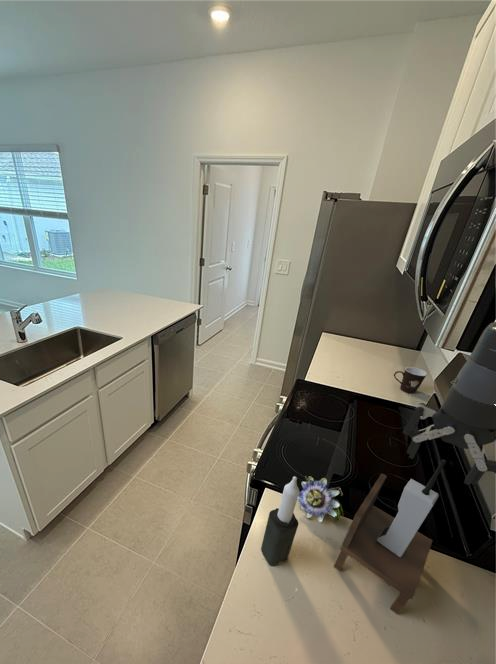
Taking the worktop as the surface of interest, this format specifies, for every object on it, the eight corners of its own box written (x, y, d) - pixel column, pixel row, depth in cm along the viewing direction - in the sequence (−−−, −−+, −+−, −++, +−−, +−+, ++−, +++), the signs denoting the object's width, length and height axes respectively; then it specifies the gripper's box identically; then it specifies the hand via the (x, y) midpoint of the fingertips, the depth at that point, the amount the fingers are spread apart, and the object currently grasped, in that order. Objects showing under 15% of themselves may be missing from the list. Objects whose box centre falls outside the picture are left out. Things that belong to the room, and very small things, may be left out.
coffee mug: (420, 390, 145) (428, 371, 140) (415, 397, 139) (424, 377, 134) (393, 381, 151) (400, 363, 146) (388, 387, 145) (395, 368, 140)
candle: (270, 567, 69) (291, 490, 56) (259, 547, 73) (276, 470, 60) (289, 560, 70) (314, 483, 58) (277, 540, 74) (298, 464, 62)
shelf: (358, 522, 80) (381, 473, 71) (418, 561, 72) (453, 510, 63) (332, 566, 70) (355, 514, 61) (398, 616, 61) (436, 565, 53)
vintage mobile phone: (382, 531, 69) (428, 446, 57) (406, 547, 66) (460, 461, 54) (375, 541, 67) (421, 455, 55) (400, 558, 64) (454, 471, 51)
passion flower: (304, 529, 83) (284, 498, 80) (315, 497, 91) (297, 468, 87) (345, 535, 75) (325, 501, 72) (354, 499, 83) (335, 467, 79)
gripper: (546, 401, 45) (489, 479, 53) (434, 367, 53) (400, 440, 61) (547, 422, 40) (485, 505, 48) (424, 381, 48) (389, 458, 57)
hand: (437, 468), depth 55 cm, fingers open, 8 cm apart
